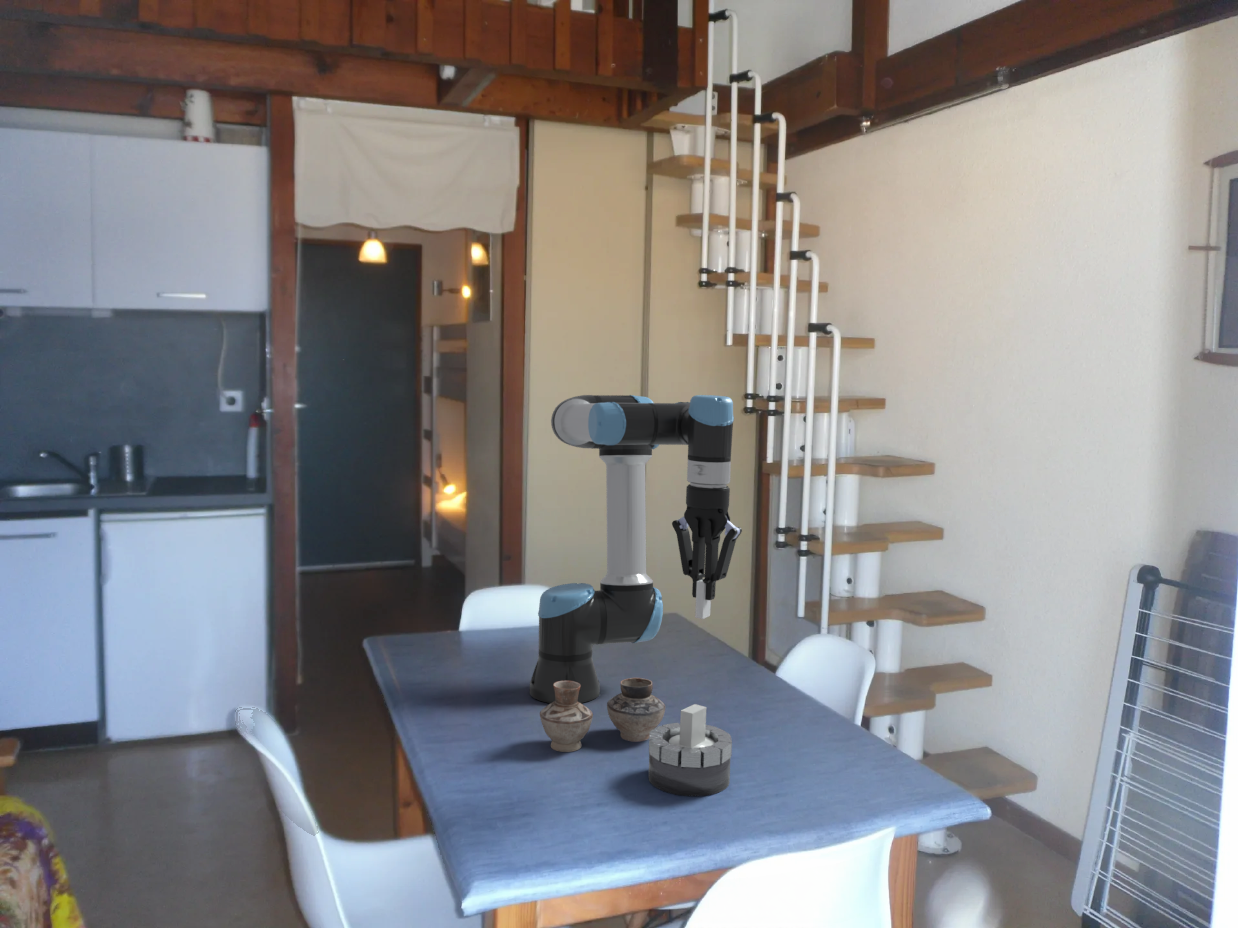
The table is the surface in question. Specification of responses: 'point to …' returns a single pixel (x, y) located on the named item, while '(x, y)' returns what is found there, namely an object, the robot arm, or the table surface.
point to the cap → (692, 728)
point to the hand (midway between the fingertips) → (702, 616)
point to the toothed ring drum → (689, 762)
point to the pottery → (626, 710)
